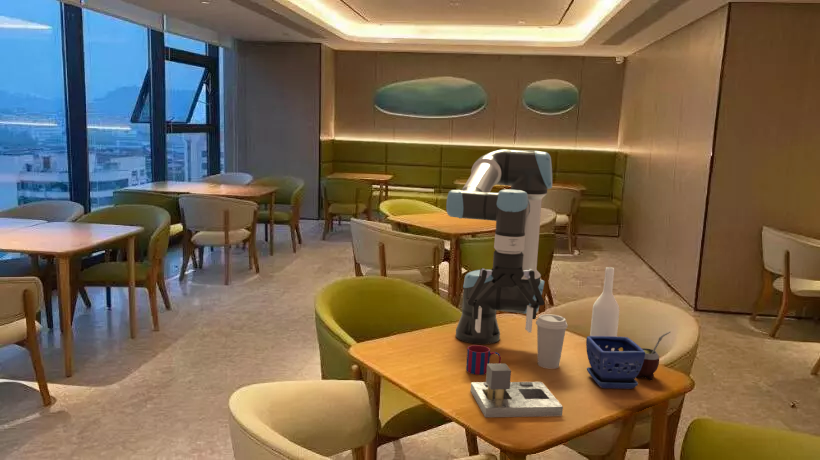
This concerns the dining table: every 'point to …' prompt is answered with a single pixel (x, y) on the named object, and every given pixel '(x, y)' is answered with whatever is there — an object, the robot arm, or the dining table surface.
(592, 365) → the flower pot
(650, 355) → the mate gourd
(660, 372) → the dining table surface
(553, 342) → the coffee cup
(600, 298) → the bottle
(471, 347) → the cup
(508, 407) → the socket
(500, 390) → the plug
